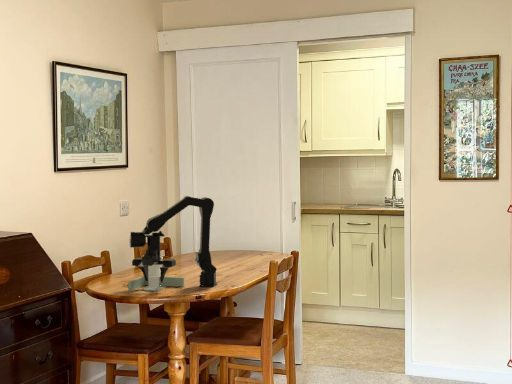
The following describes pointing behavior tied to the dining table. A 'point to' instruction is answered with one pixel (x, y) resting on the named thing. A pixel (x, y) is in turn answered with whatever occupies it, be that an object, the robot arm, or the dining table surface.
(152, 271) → the cup
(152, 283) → the bracket
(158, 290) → the pad
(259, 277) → the dining table surface
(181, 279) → the corner frame
